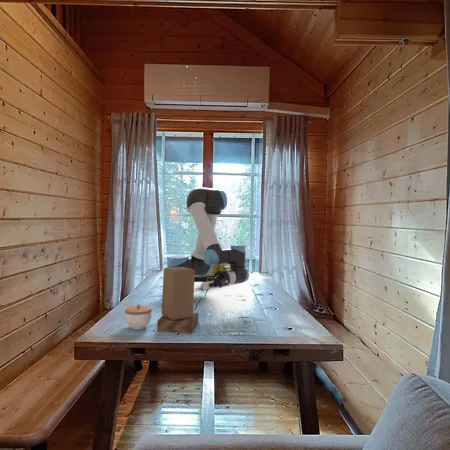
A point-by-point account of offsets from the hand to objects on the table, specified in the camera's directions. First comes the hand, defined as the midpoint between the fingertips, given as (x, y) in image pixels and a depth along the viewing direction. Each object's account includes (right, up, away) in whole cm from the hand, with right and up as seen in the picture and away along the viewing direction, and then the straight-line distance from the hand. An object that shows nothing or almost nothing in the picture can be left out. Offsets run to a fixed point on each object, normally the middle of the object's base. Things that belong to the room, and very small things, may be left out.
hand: (191, 283), depth 149 cm
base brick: (-5, -18, -6) cm, 19 cm away
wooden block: (-5, -13, -7) cm, 15 cm away
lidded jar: (-21, -17, -8) cm, 28 cm away
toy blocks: (+8, -16, +90) cm, 91 cm away
